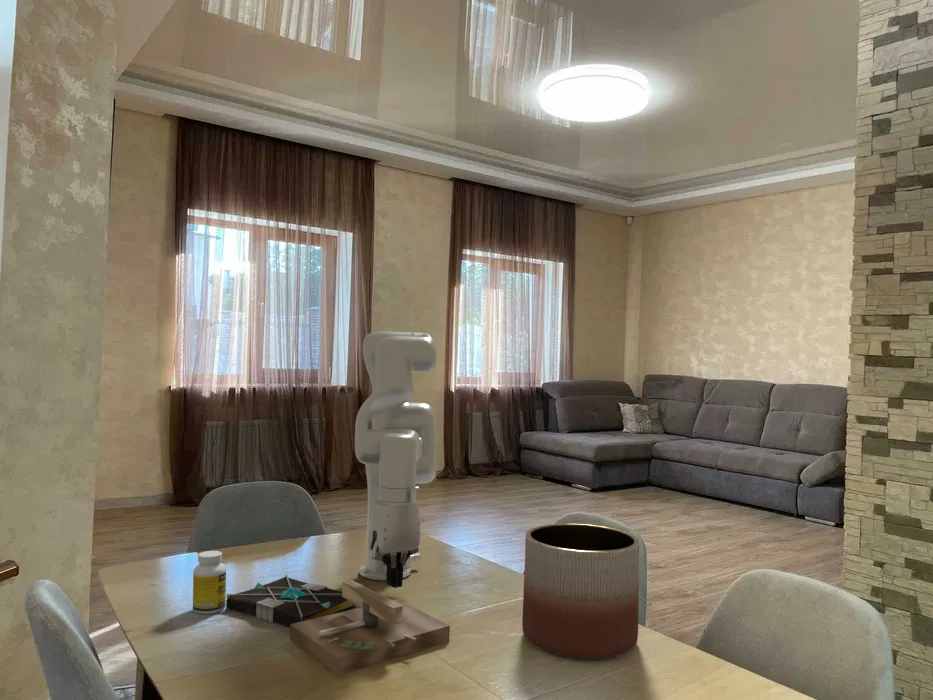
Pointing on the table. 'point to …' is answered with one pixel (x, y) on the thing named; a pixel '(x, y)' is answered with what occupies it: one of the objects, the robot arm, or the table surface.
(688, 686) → the table surface
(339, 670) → the dial board
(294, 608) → the book
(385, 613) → the wooden lever
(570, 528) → the planter
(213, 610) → the pill bottle
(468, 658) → the table surface
